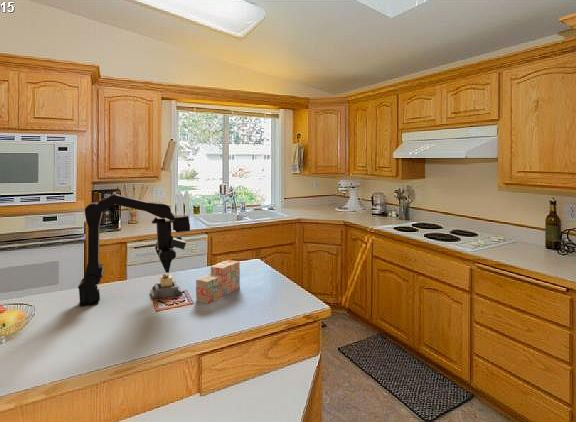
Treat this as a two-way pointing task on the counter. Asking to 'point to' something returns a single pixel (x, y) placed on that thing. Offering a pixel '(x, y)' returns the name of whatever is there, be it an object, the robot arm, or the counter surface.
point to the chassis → (165, 291)
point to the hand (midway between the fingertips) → (165, 269)
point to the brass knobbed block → (165, 281)
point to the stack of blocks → (218, 281)
